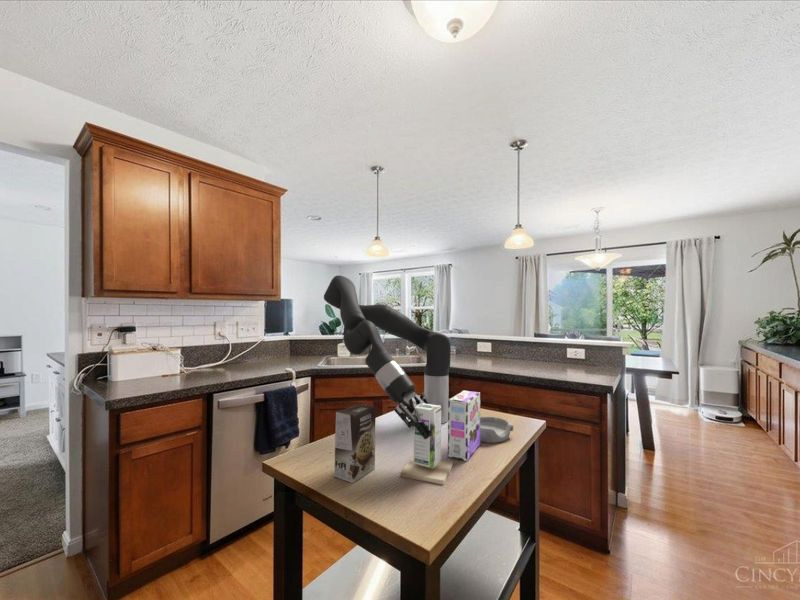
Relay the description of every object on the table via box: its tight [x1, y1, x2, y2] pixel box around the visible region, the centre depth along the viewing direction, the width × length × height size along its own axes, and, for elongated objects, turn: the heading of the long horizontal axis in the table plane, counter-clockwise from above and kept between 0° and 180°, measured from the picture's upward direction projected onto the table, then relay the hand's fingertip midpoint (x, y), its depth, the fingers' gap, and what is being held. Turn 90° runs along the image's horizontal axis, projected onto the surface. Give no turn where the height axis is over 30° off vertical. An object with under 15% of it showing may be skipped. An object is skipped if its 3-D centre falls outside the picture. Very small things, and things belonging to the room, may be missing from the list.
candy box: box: [447, 390, 481, 462], centre depth 99 cm, size 14×6×16 cm, turn 151°
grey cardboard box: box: [333, 404, 377, 484], centre depth 85 cm, size 9×6×16 cm
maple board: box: [400, 456, 454, 486], centre depth 86 cm, size 11×11×1 cm
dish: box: [480, 416, 514, 444], centre depth 111 cm, size 14×14×5 cm
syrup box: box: [412, 403, 442, 468], centre depth 87 cm, size 6×6×14 cm
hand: (433, 432), depth 86 cm, fingers closed on syrup box, 6 cm apart
